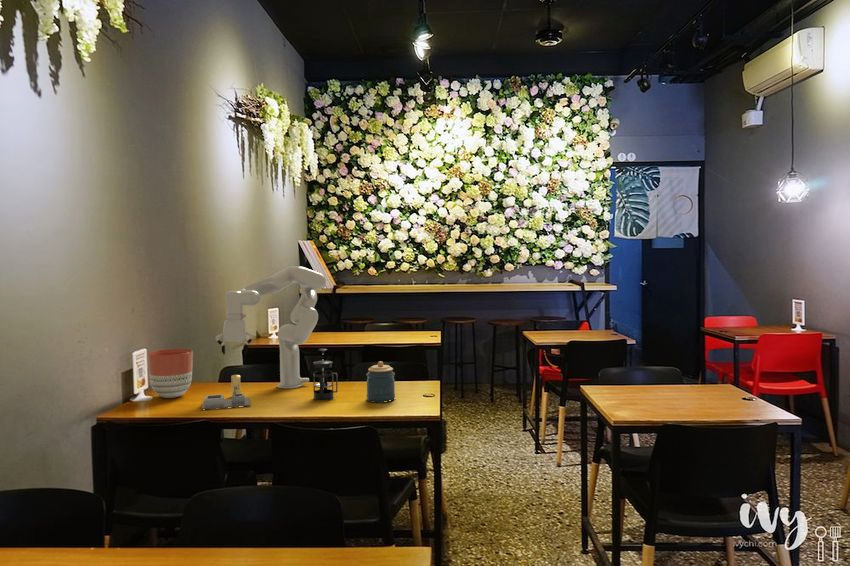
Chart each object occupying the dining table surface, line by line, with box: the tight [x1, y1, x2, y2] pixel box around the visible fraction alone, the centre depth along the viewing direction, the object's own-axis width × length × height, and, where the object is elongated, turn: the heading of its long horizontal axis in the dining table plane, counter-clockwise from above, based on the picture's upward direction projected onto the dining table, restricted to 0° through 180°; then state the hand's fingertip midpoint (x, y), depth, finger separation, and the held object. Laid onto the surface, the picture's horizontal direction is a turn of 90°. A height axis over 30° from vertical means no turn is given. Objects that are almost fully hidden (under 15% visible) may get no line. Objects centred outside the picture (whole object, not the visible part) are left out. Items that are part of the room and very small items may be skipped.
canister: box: [365, 360, 396, 403], centre depth 264 cm, size 13×13×18 cm
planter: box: [147, 348, 194, 399], centre depth 273 cm, size 20×20×21 cm
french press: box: [312, 348, 339, 401], centre depth 267 cm, size 12×9×23 cm
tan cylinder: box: [230, 374, 242, 395], centre depth 273 cm, size 4×4×10 cm
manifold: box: [201, 393, 251, 411], centre depth 257 cm, size 20×14×4 cm
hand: (234, 353), depth 272 cm, fingers open, 9 cm apart
